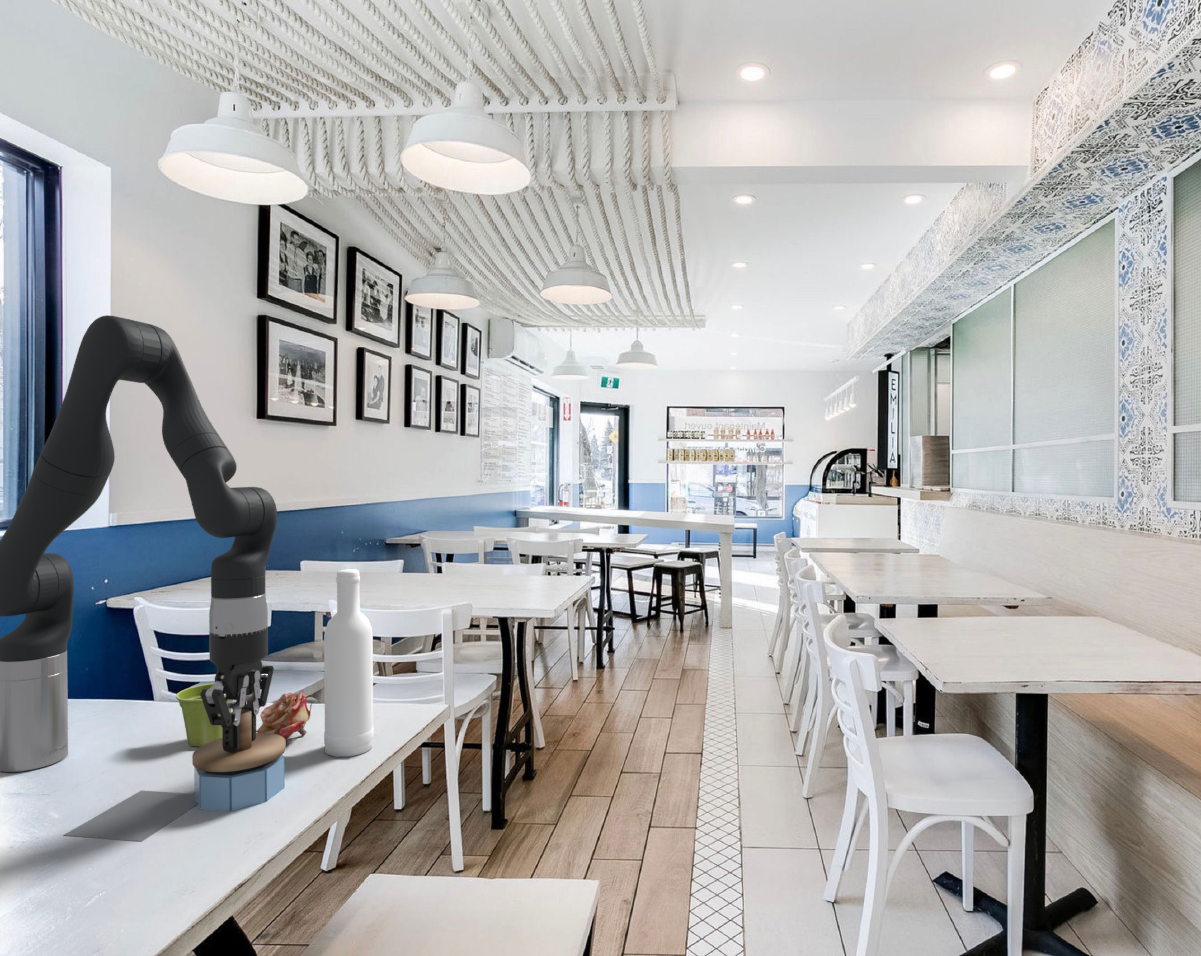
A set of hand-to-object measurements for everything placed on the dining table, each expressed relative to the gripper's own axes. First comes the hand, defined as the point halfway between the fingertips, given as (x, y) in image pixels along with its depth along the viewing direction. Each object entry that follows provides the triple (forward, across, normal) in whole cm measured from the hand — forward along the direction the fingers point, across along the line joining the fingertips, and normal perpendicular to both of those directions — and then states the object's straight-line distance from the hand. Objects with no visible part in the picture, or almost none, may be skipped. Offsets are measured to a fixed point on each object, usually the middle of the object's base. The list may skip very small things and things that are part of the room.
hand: (239, 745), depth 105 cm
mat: (+7, +8, -9) cm, 14 cm away
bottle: (+8, -19, +7) cm, 22 cm away
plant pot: (+8, -19, -19) cm, 28 cm away
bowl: (+7, 0, 0) cm, 7 cm away
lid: (+1, 0, 0) cm, 1 cm away
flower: (+8, -21, -6) cm, 23 cm away
